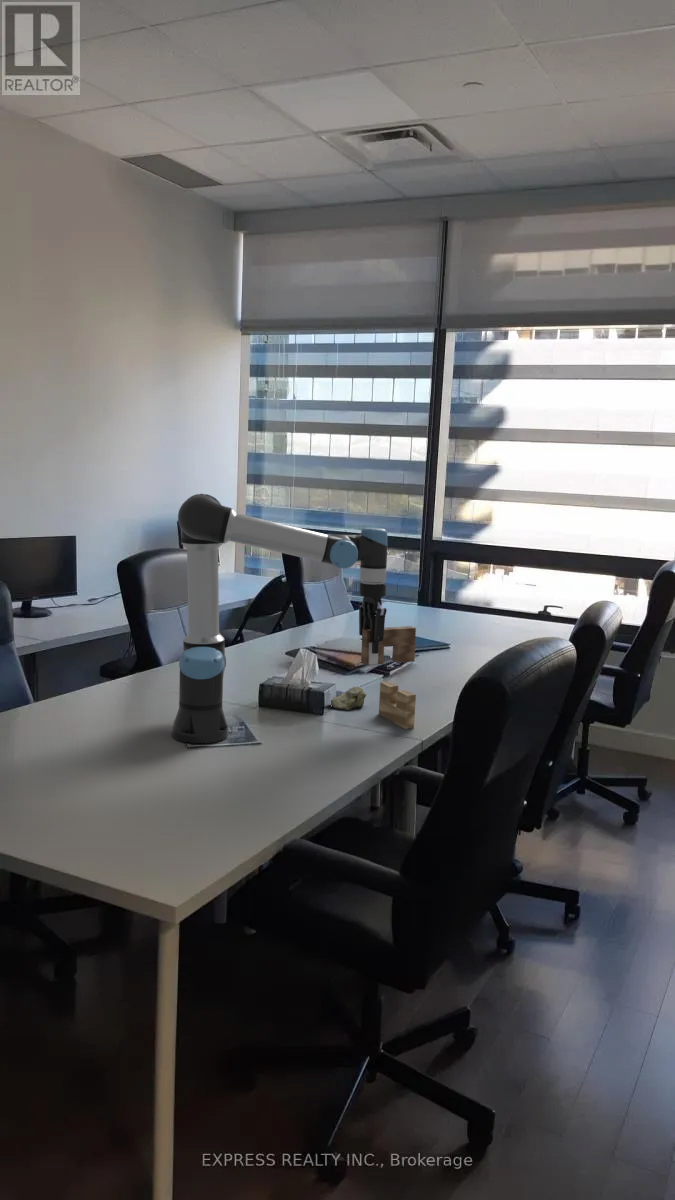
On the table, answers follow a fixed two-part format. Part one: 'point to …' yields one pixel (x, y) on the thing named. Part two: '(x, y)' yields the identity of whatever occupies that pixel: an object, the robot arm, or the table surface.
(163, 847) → the table surface
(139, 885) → the table surface
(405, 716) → the oak board
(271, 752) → the table surface
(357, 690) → the rock
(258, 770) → the table surface
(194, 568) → the robot arm
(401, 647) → the walnut plate
